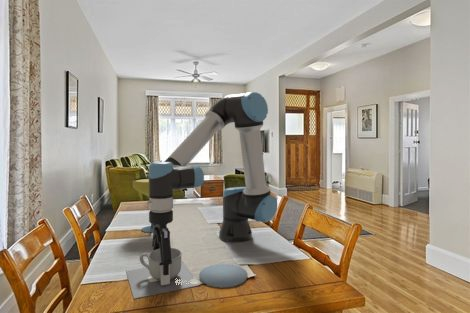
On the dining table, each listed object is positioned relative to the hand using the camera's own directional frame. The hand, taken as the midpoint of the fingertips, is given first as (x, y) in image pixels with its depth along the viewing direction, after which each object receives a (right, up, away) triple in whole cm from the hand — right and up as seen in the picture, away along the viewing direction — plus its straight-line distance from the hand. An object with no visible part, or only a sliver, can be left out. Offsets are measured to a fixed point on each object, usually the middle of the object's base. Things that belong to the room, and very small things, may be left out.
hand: (161, 276), depth 101 cm
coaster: (+20, -1, +2) cm, 20 cm away
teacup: (0, -1, +1) cm, 1 cm away
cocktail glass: (-17, +3, +53) cm, 56 cm away
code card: (0, -1, 0) cm, 1 cm away
